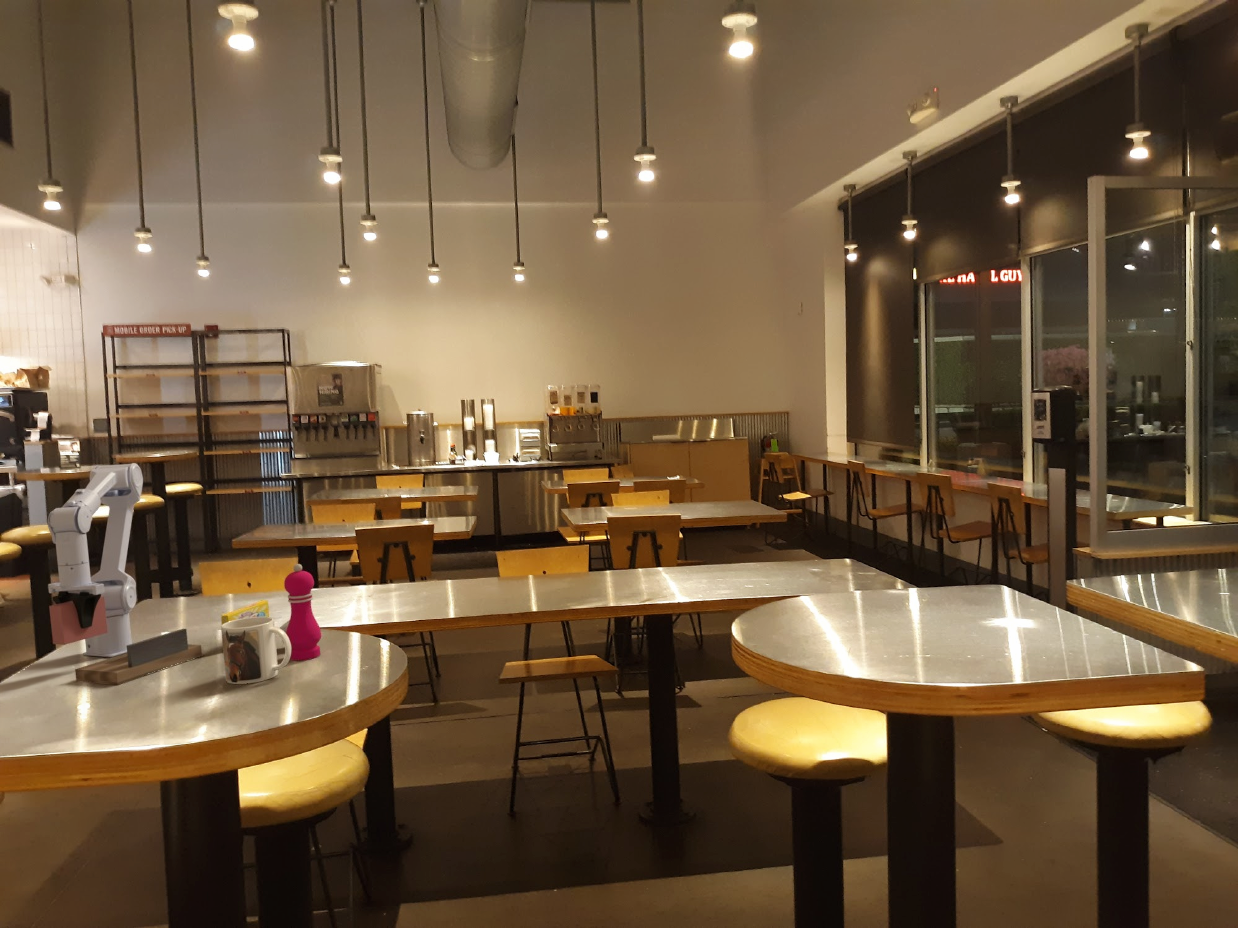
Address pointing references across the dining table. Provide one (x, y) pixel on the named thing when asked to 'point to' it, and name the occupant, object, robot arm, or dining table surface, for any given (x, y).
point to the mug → (252, 649)
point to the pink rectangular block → (75, 623)
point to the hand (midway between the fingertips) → (79, 626)
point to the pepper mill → (302, 616)
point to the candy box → (247, 612)
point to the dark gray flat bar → (157, 647)
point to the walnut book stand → (120, 673)
